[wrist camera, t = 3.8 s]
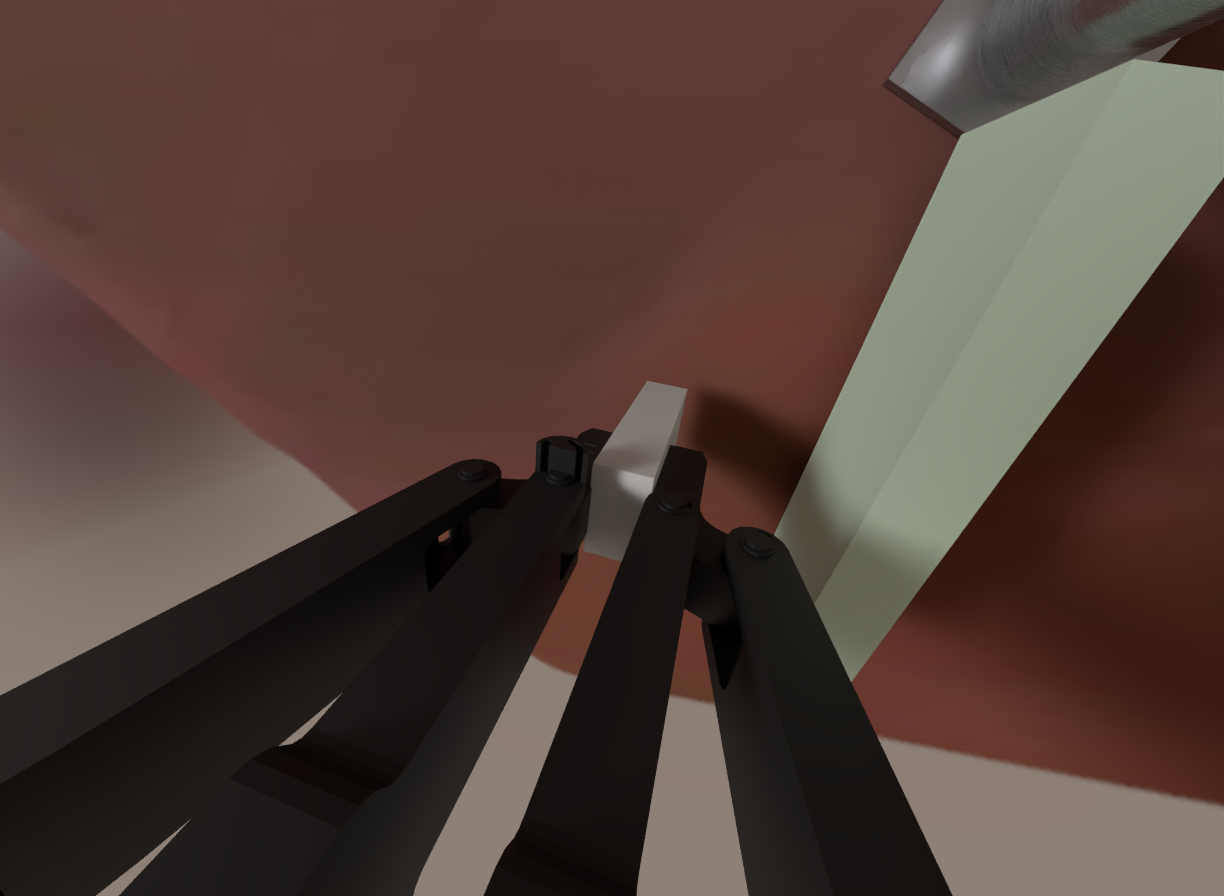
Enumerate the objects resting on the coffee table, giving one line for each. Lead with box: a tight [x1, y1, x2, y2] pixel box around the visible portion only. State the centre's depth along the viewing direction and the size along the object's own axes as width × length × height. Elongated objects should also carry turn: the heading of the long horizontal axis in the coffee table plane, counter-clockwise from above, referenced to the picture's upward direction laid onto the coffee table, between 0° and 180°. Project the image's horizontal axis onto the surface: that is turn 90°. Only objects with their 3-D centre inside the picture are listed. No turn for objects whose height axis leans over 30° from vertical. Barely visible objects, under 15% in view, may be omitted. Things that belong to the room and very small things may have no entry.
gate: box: [774, 59, 1224, 682], centre depth 12 cm, size 15×2×6 cm, turn 169°
